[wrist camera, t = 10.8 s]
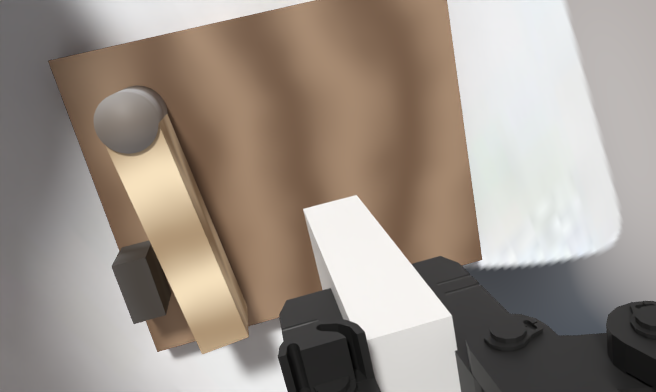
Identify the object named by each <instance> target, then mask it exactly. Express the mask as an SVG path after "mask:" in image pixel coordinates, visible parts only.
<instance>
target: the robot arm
mask: <svg viewBox="0 0 656 392" xmlns="http://www.w3.org/2000/svg"><path fill="white" fill-rule="evenodd" d="M303 211H304V215H305V219H306V223H307V227H308V232H309V236H310V240H311V244H312V248H313V252H314V256H315V261H316V265H317V269H318V273H319V277H320V281H321V285H322V291H318V292H315V293H311V294H307V295H304V296H300V297H297V298H293V299H289V300H286V302H285V304H284V306H283V308H282V310H281V312H280V314H279V317H280V323H281V329H282V335H283V340H284V342H283V343H282V344H281V346H280V348H279V354H278V359H279V363H280V366H281V370H282V373H283V377H284V380H285V384H286V387H287V391H288V392H656V302H654V301H643V302H631V303H628V304H626V305H623V306H619V307H617V308H616V309H615V310H613V311H612V312H611V313H610V314H609V315H608V319H607V323H606V328H607V333H601V334H587V335H573V336H571V335H570V336H569V335H566V336H564V335H563V336H559V335H557V334H556V333H555V332H554V331H553V330H552V329H551V328H550V327H549V326H547V325H546V324H544V323H543V322H541V321H539V320H537V319H536V318H533V317H529V316H525V315H522V314H510V313H509V312H508V311H507V310H506V309H505V308H504V307H503V306H502V305H501V304H500V303H499V302H498V301H497V300H496V299H495V298H494V297H492V296H491V294H490V293H489V292H488V291H486V289H485V288H484V287H483V286H481V285H479V283H478V281H477V280H475V279H474V278H473V277H472V276H470V274H469V273H468V272H467V271H466V270H465V269H464V268H463V267H462V266H461V265H460V264H459V263H458V262H455V261H453V260H450V259H447V258H445V257H442V256H438V257H434V258H431V259H427V260H423V261H420V262H416V263H413V264H411V263H410V262H409V261H408V259H407V258H406V257H405V256H404V254H403V253H402V252H401V251H400V249H399V248H398V247H397V245H396V244H395V243H394V242H393V240H392V239H391V238H390V237H389V235H388V234H387V233H386V232H385V230H384V229H383V228H382V226H381V225H380V224H379V223H378V221H377V220H376V219H375V218H374V216H373V215H372V214H371V213H370V211H369V210H368V209H367V208H366V206H365V205H364V204H363V202H362V201H361V200H360V199H359V197H358V196H357V195H355V196H351V197H347V198H343V199H339V200H335V201H332V202H328V203H324V204H320V205H316V206H312V207H309V208H305V209H303Z"/></svg>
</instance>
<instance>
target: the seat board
mask: <svg viewBox="0 0 656 392" xmlns="http://www.w3.org/2000/svg"><path fill="white" fill-rule="evenodd" d="M48 62H49V65H50V67H51V70H52V73H53V75H54V78H55V81H56V83H57V86H58V89H59V91H60V94H61V97H62V99H63V102H64V105H65V107H66V110H67V113H68V115H69V118H70V121H71V123H72V126H73V129H74V131H75V134H76V136H77V139H78V142H79V144H80V147H81V150H82V152H83V155H84V158H85V160H86V163H87V166H88V168H89V171H90V174H91V176H92V179H93V182H94V184H95V187H96V190H97V192H98V195H99V198H100V200H101V203H102V206H103V208H104V211H105V214H106V216H107V219H108V222H109V224H110V227H111V230H112V232H113V235H114V238H115V240H116V243H117V246H118V248H119V251H120V252H119V253H118V255H117V257H116V259H115V261H114V263H113V265H112V269H113V271H114V274H115V277H116V279H117V282H118V284H119V287H120V290H121V292H122V295H123V297H124V300H125V303H126V305H127V308H128V310H129V313H130V316H131V318H132V321H133V323H134V324H136V323H139V322H143V321H146V323H147V325H148V328H149V331H150V333H151V336H152V339H153V341H154V344H155V347H156V349H157V352H159V351H162V350H166V349H170V348H173V347H177V346H180V345H184V344H187V343H191V342H194V341H196V340H195V338H194V336H193V333H192V331H191V329H190V327H189V325H188V323H187V320H186V318H185V316H184V314H183V312H182V310H181V308H180V305H179V303H178V301H177V299H176V297H175V295H174V292H173V290H172V288H171V286H170V284H169V282H168V279H167V277H166V275H165V273H164V271H163V269H162V267H161V264H160V262H159V260H158V258H157V256H156V254H155V251H154V249H153V247H152V245H151V243H150V241H149V239H148V236H147V234H146V232H145V230H144V228H143V226H142V223H141V221H140V219H139V217H138V215H137V213H136V211H135V208H134V206H133V204H132V202H131V200H130V198H129V195H128V193H127V191H126V189H125V187H124V185H123V183H122V180H121V178H120V176H119V174H118V172H117V170H116V167H115V165H114V163H113V161H112V159H111V157H110V155H109V152H108V150H107V148H106V146H105V144H103V142H102V141H101V140H100V139H99V137H98V136H97V134H96V131H95V128H94V114H95V111H96V108H97V107H98V105H99V104H100V103H101V102H102V100H104V99H105V98H106V97H108V96H110V95H112V94H114V93H116V92H119V91H121V90H123V89H125V88H127V87H130V86H136V85H140V86H145V87H148V88H151V89H153V90H154V91H156V92H157V93H158V94H159V95H160V96H161V97H162V98H163V100H164V102H165V104H166V107H167V112H168V117H169V119H170V121H171V124H172V126H173V129H174V131H175V134H176V136H177V138H178V141H179V143H180V146H181V148H182V150H183V153H184V155H185V158H186V160H187V162H188V165H189V167H190V170H191V172H192V174H193V177H194V179H195V182H196V184H197V186H198V189H199V191H200V194H201V196H202V199H203V201H204V203H205V206H206V208H207V211H208V213H209V215H210V218H211V220H212V223H213V225H214V227H215V230H216V232H217V235H218V237H219V239H220V242H221V244H222V247H223V249H224V252H225V254H226V256H227V259H228V261H229V264H230V266H231V268H232V271H233V273H234V276H235V278H236V280H237V283H238V285H239V288H240V290H241V292H242V295H243V297H244V300H245V302H246V305H247V313H248V326H251V325H254V324H258V323H261V322H265V321H268V320H272V319H275V318H279V314H280V312H281V310H282V308H283V306H284V304H285V302H286V300H289V299H293V298H297V297H300V296H304V295H307V294H311V293H315V292H318V291H322V285H321V281H320V277H319V273H318V269H317V265H316V261H315V256H314V252H313V248H312V244H311V240H310V236H309V232H308V227H307V223H306V219H305V215H304V211H303V209H305V208H309V207H312V206H316V205H320V204H324V203H328V202H332V201H335V200H339V199H343V198H347V197H351V196H355V195H357V196H358V197H359V199H360V200H361V201H362V202H363V204H364V205H365V206H366V208H367V209H368V210H369V211H370V213H371V214H372V215H373V216H374V218H375V219H376V220H377V221H378V223H379V224H380V225H381V226H382V228H383V229H384V230H385V232H386V233H387V234H388V235H389V237H390V238H391V239H392V240H393V242H394V243H395V244H396V245H397V247H398V248H399V249H400V251H401V252H402V253H403V254H404V256H405V257H406V258H407V259H408V261H409V262H410V263H411V264H413V263H416V262H420V261H423V260H427V259H431V258H434V257H438V256H442V257H445V258H447V259H450V260H453V261H455V262H458V263H459V264H460V265H461V266H462V265H466V264H469V263H473V262H476V261H480V260H482V255H481V247H480V240H479V233H478V225H477V218H476V211H475V203H474V196H473V189H472V181H471V174H470V167H469V159H468V152H467V145H466V137H465V130H464V123H463V115H462V108H461V101H460V93H459V86H458V79H457V71H456V64H455V57H454V49H453V42H452V34H451V27H450V20H449V12H448V5H447V0H315V1H311V2H306V3H302V4H297V5H293V6H288V7H284V8H280V9H275V10H271V11H266V12H262V13H257V14H253V15H249V16H244V17H240V18H235V19H231V20H226V21H222V22H218V23H213V24H209V25H204V26H200V27H195V28H191V29H187V30H182V31H178V32H173V33H169V34H164V35H160V36H156V37H151V38H147V39H142V40H138V41H133V42H129V43H125V44H120V45H116V46H111V47H107V48H102V49H98V50H94V51H89V52H85V53H80V54H76V55H71V56H67V57H63V58H58V59H54V60H49V61H48Z"/></svg>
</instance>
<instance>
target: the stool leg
mask: <svg viewBox="0 0 656 392" xmlns="http://www.w3.org/2000/svg"><path fill="white" fill-rule="evenodd" d="M94 128H95V131H96V134H97V136H98V137H99V139H100V140H101V141H102V142H103V144H105V146H106V148H107V150H108V152H109V155H110V157H111V159H112V161H113V163H114V165H115V167H116V170H117V172H118V174H119V176H120V178H121V180H122V183H123V185H124V187H125V189H126V191H127V193H128V195H129V198H130V200H131V202H132V204H133V206H134V208H135V211H136V213H137V215H138V217H139V219H140V221H141V223H142V226H143V228H144V230H145V232H146V234H147V236H148V239H149V241H150V243H151V245H152V247H153V249H154V251H155V254H156V256H157V258H158V260H159V262H160V264H161V267H162V269H163V271H164V273H165V275H166V277H167V279H168V282H169V284H170V286H171V288H172V290H173V292H174V295H175V297H176V299H177V301H178V303H179V305H180V308H181V310H182V312H183V314H184V316H185V318H186V320H187V323H188V325H189V327H190V329H191V331H192V333H193V336H194V338H195V340H196V342H197V344H198V346H199V348H200V351H201V353H202V354H205V353H207V352H210V351H213V350H215V349H218V348H221V347H223V346H226V345H229V344H232V343H234V342H237V341H240V340H242V339H245V338H248V337H249V332H248V313H247V305H246V302H245V300H244V297H243V295H242V292H241V290H240V288H239V285H238V283H237V280H236V278H235V276H234V273H233V271H232V268H231V266H230V264H229V261H228V259H227V256H226V254H225V252H224V249H223V247H222V244H221V242H220V239H219V237H218V235H217V232H216V230H215V227H214V225H213V223H212V220H211V218H210V215H209V213H208V211H207V208H206V206H205V203H204V201H203V199H202V196H201V194H200V191H199V189H198V186H197V184H196V182H195V179H194V177H193V174H192V172H191V170H190V167H189V165H188V162H187V160H186V158H185V155H184V153H183V150H182V148H181V146H180V143H179V141H178V138H177V136H176V134H175V131H174V129H173V126H172V124H171V121H170V119H169V117H168V112H167V107H166V104H165V102H164V100H163V98H162V97H161V96H160V95H159V94H158V93H157V92H156V91H154V90H153V89H151V88H148V87H145V86H140V85H136V86H130V87H127V88H125V89H123V90H121V91H119V92H116V93H114V94H112V95H110V96H108V97H106V98H105V99H104V100H102V102H101V103H100V104H99V105H98V107H97V108H96V111H95V114H94Z"/></svg>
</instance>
